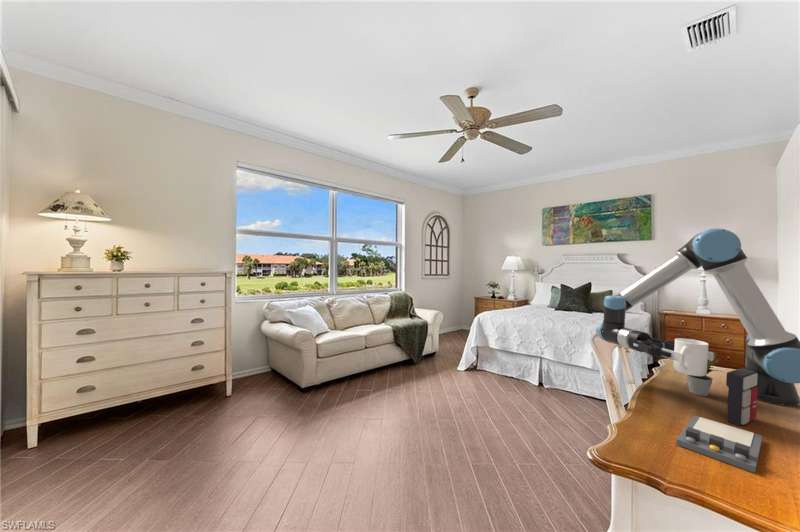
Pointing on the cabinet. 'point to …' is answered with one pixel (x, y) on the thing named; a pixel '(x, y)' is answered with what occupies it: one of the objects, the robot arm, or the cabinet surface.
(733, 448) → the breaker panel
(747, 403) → the dark grey box
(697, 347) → the mug
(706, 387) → the house plant
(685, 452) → the cabinet surface
